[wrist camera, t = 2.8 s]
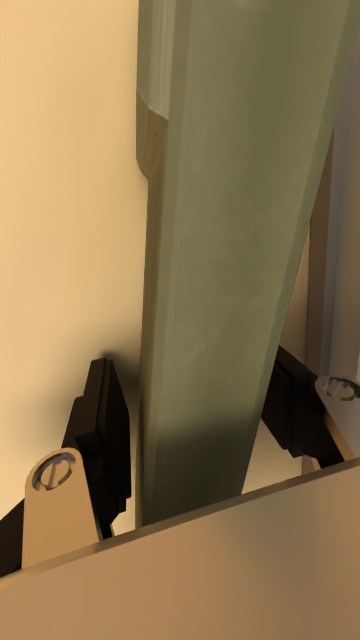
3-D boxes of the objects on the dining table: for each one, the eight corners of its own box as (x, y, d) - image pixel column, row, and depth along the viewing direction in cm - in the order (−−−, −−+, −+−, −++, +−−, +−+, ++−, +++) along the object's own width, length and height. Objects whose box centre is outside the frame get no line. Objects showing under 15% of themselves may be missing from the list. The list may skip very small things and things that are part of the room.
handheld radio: (251, -3, 8) (177, 530, 17) (142, -33, 7) (125, 536, 16) (665, -803, 2) (202, 715, 10) (175, -1402, 1) (118, 736, 10)
